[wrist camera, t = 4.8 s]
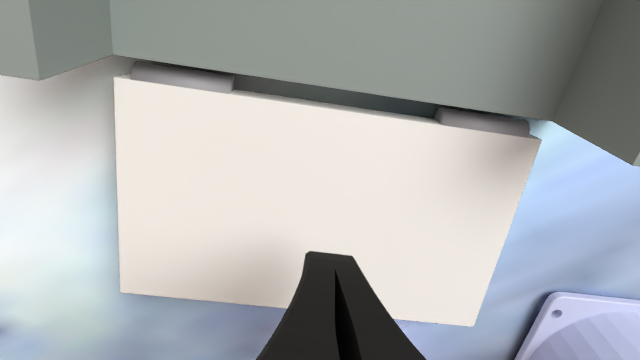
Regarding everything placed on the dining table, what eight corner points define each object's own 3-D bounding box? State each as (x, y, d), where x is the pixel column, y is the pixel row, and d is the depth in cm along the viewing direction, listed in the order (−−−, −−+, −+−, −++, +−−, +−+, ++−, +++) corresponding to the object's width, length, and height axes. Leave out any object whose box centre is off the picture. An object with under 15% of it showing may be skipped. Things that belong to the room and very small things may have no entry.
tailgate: (464, 310, 17) (473, 326, 16) (130, 276, 16) (120, 292, 15) (530, 119, 14) (547, 125, 13) (126, 57, 13) (113, 60, 12)
